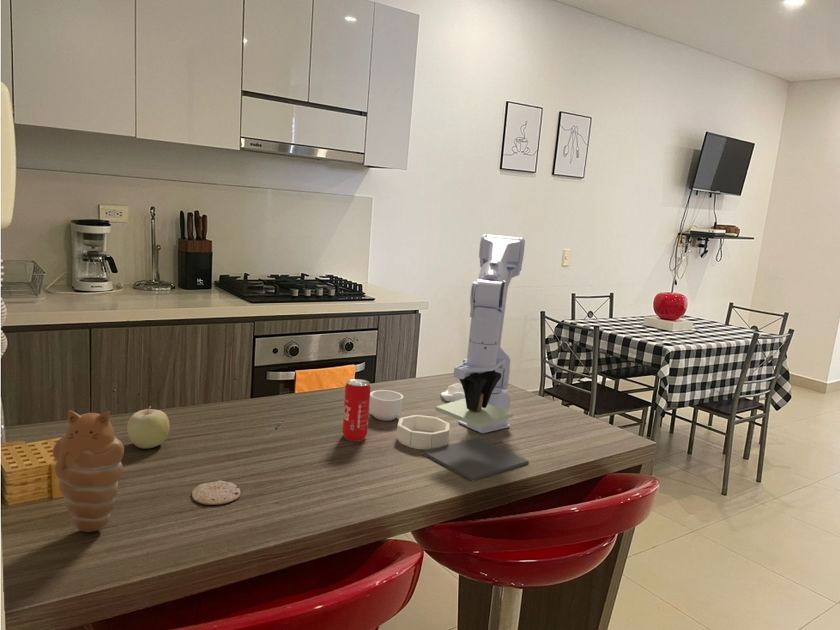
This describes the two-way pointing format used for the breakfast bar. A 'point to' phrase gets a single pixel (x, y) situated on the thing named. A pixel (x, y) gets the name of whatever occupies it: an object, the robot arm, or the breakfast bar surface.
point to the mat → (475, 458)
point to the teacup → (385, 404)
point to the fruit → (148, 428)
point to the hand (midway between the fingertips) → (476, 408)
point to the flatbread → (216, 493)
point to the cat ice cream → (89, 469)
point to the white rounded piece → (453, 392)
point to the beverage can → (356, 409)
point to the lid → (474, 413)
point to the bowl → (422, 432)
